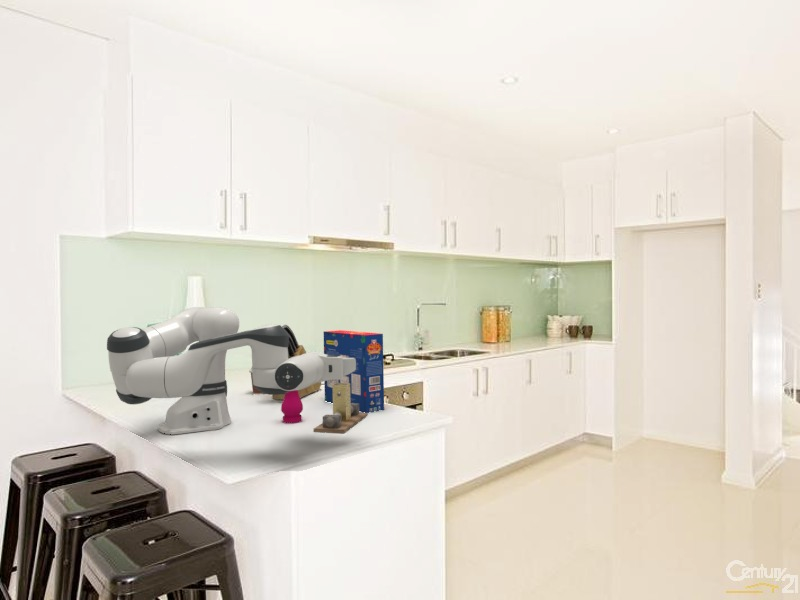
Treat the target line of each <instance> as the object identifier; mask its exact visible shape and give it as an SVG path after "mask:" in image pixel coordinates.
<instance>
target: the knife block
mask: <svg viewBox="0 0 800 600" xmlns="http://www.w3.org/2000/svg"><path fill="white" fill-rule="evenodd" d="M281 326H282V327H283V328H284V329H285V330H286V331H287V333H288V334H289V345H288V359H289V358H291V357H295V356H299V355H302V354H305V353H307V351H306V349H305V347H304V345H303V344H299V342H298V340H297V338H296V336H295V335H296V334H295V333H294V332H293V330H292V329H291V327H290V326H289V325H288V324H283V325H281ZM321 386H322V382H320V383H318V382H317V383H315V384H313V385H310V386H309V387H306V388H304V389H300V390H298V394H299V397H300V399H301V398H303V397H305V396H307V395H310V394H312V393H314V392H317V391H318V390H321ZM271 396H272V397H271V398H272V399H273V400H275V401H278V400H284V397H285V394H279V395H271Z"/></svg>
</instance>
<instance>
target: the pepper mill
mask: <svg viewBox="0 0 800 600" xmlns="http://www.w3.org/2000/svg"><path fill="white" fill-rule="evenodd" d="M303 410H304V406H303V401H302V399H301V398H300V397H299V394H298V390H295V391H290V392H288V393H285V397H284V399H282V402H281V407H280V411H281V413H282V414H283V416H282V422H283V423H284V424H296V423H300V422H302V421H303V419H302V418H303V417H302V415H301V413H302V412H303Z"/></svg>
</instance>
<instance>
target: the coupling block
mask: <svg viewBox="0 0 800 600" xmlns="http://www.w3.org/2000/svg"><path fill="white" fill-rule="evenodd" d="M337 412H338V413H340V414H341V415H342V420H341V422H347V421H349V420H350V419H351V400H350V383H336V384H334V385H333V404H332V415H333V414H335V413H337Z"/></svg>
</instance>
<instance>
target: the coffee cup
mask: <svg viewBox="0 0 800 600" xmlns="http://www.w3.org/2000/svg"><path fill="white" fill-rule="evenodd" d="M248 372H249V373H250V377H251V388H252V395H254V394H263V395H265V394H264V393H262V392H260V391H259V390H257V389H256V388H255V387H254V385H253V378H252V367H251V368H250V369H249V371H248Z"/></svg>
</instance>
